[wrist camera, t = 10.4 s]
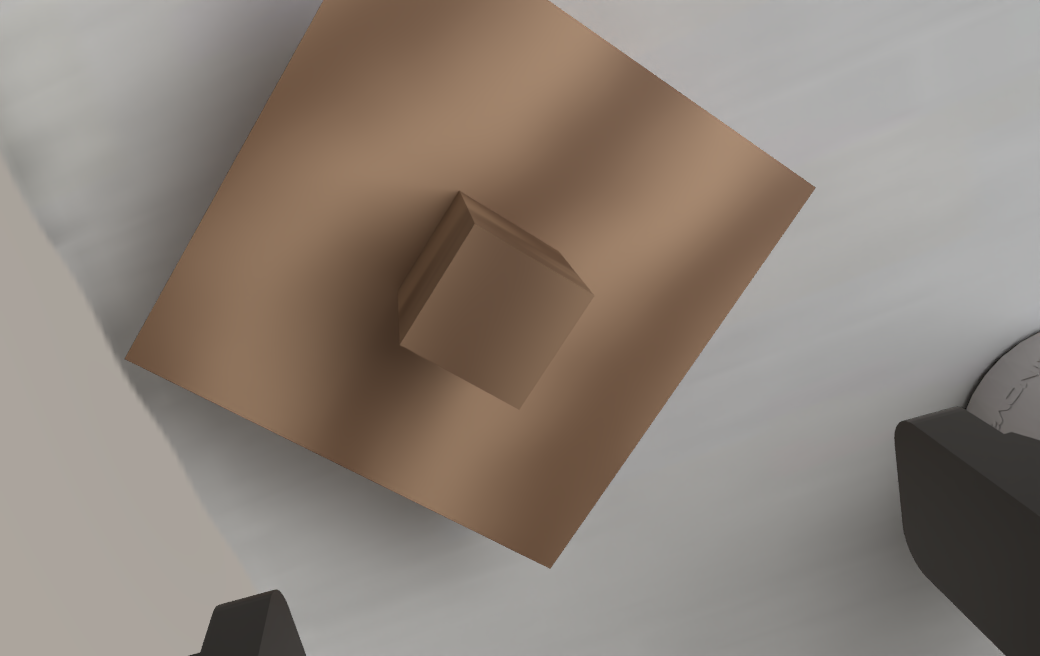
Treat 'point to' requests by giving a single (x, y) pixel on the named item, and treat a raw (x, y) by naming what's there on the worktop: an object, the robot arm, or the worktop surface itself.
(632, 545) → the worktop surface
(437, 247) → the walnut lid
